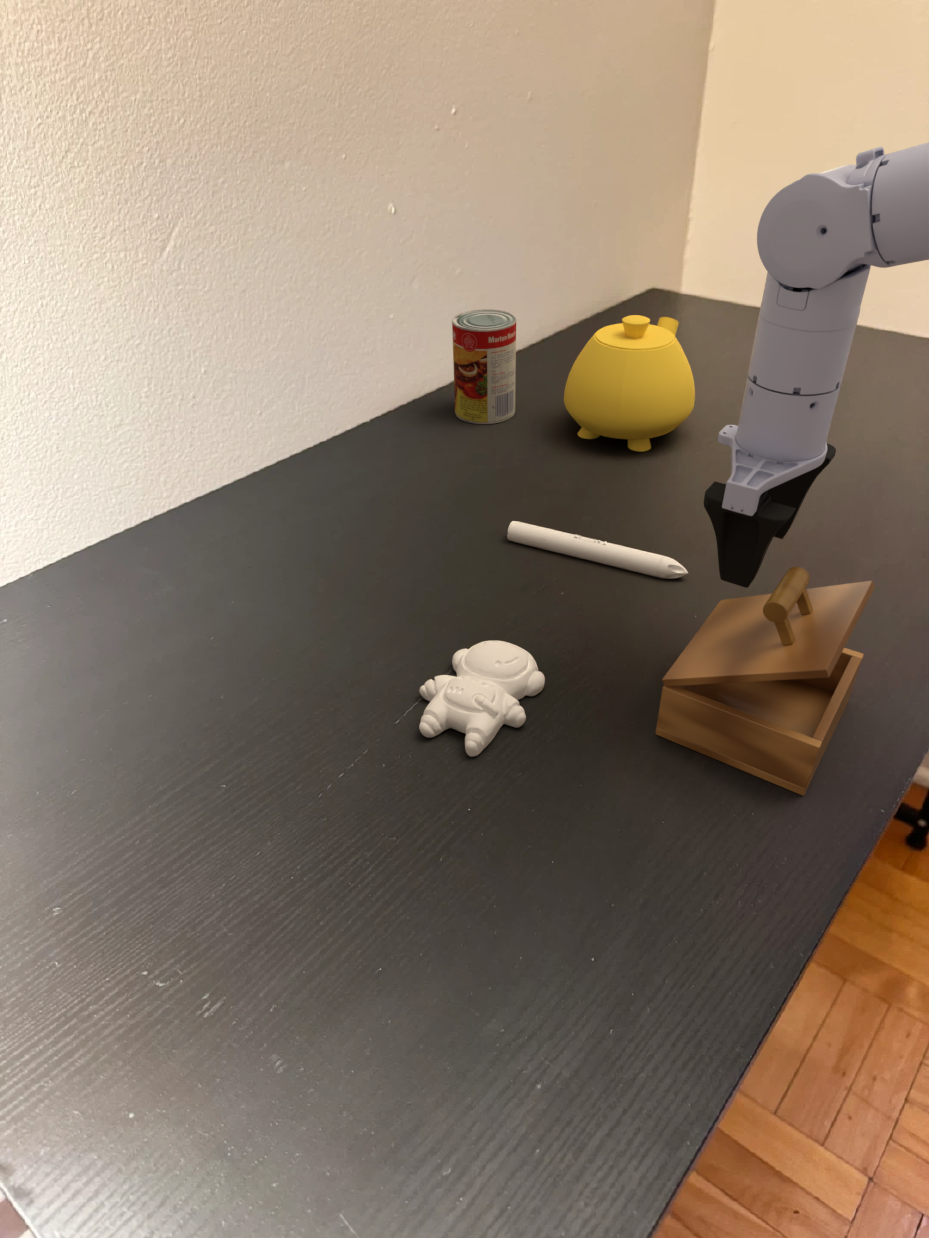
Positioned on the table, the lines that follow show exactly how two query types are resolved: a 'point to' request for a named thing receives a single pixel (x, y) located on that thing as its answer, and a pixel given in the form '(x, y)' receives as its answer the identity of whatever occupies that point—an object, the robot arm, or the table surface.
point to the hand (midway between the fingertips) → (753, 556)
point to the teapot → (631, 382)
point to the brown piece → (773, 634)
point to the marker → (595, 550)
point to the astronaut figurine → (481, 693)
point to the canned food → (484, 365)
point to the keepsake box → (762, 721)
